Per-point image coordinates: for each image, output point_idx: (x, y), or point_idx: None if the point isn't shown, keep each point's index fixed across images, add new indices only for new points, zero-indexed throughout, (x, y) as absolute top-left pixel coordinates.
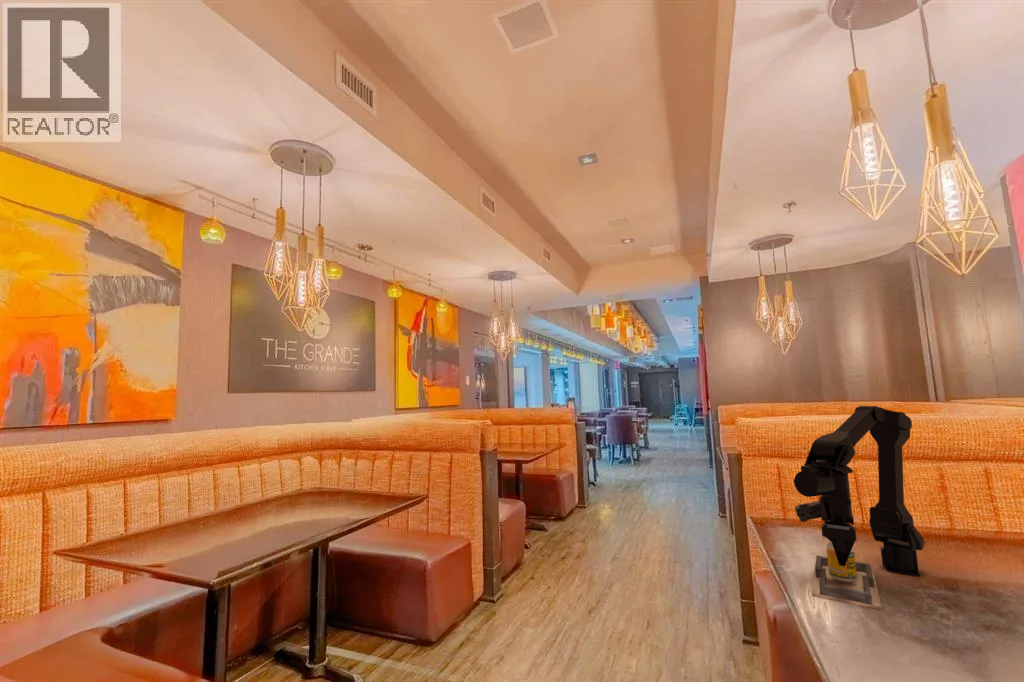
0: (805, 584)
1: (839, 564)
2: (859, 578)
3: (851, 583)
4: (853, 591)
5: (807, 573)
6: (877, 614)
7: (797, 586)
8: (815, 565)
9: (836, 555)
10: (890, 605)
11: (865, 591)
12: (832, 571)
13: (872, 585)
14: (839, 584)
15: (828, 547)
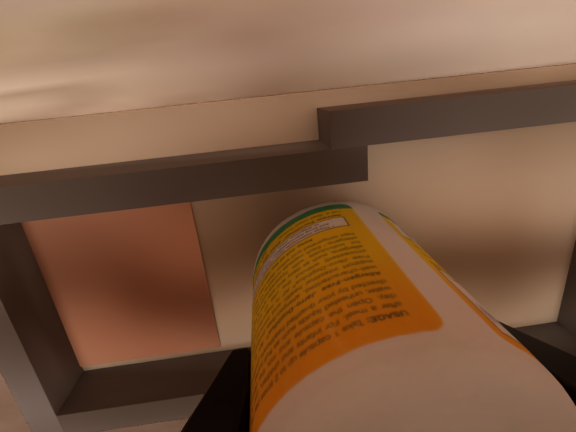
0: (166, 54)
1: (231, 353)
2: None
3: None
4: (3, 375)
5: (423, 32)
6: (8, 400)
7: (72, 6)
8: (414, 102)
9: (184, 427)
10: (176, 420)
11: (67, 416)
12: (273, 247)
13: None
14: None
15: (321, 388)
